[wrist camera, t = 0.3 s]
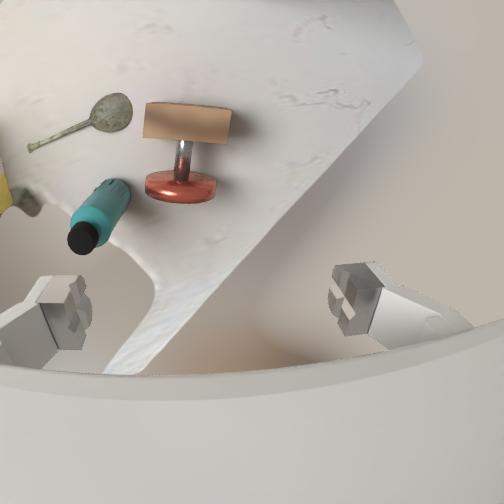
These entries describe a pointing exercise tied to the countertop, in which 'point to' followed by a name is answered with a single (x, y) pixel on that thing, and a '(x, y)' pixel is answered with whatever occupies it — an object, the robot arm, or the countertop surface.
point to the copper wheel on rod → (180, 180)
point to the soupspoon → (101, 117)
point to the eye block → (186, 122)
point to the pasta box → (4, 191)
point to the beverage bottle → (98, 216)
